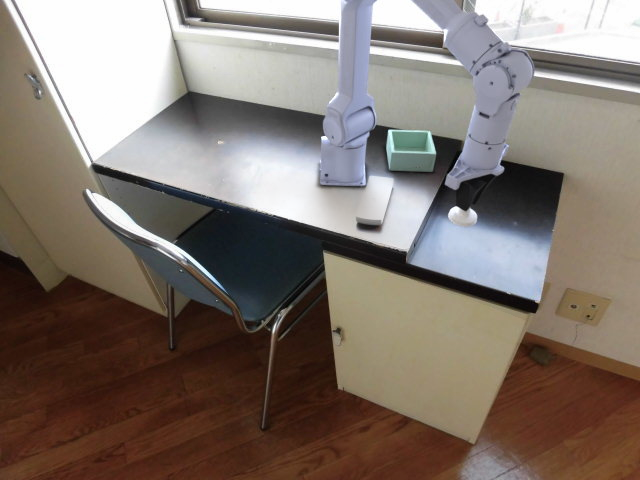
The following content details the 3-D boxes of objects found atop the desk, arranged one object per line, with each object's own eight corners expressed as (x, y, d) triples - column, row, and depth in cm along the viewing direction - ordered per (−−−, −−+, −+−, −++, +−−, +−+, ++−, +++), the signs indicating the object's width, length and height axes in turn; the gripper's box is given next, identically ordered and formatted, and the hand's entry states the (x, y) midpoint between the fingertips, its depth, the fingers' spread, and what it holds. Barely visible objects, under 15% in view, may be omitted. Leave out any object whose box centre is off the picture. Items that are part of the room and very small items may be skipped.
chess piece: (446, 208, 85) (458, 161, 78) (473, 209, 85) (488, 162, 78) (450, 226, 81) (464, 178, 74) (479, 227, 81) (495, 179, 74)
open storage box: (389, 170, 103) (391, 152, 100) (386, 147, 110) (388, 129, 107) (432, 171, 103) (436, 153, 100) (426, 148, 110) (430, 130, 106)
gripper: (483, 164, 66) (461, 235, 75) (535, 128, 73) (509, 198, 82) (441, 143, 69) (425, 214, 79) (495, 111, 77) (474, 180, 86)
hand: (466, 204), depth 81 cm, fingers closed on chess piece
